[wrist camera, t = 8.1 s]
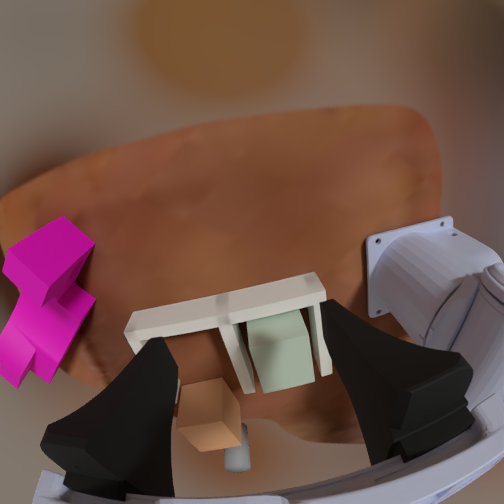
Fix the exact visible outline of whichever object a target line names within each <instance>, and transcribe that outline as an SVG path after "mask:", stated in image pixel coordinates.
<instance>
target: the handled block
mask: <svg viewBox="0 0 504 504" xmlns="http://www.w3.org/2000/svg"><path fill="white" fill-rule="evenodd" d="M176 429H177V430H178V431H179V432H180V433H181V434H182V435H183V436H184V437H185V438H186V439H187V440H188V441H190V442H191V443H192V444H193V445H194V446H195V447H196V448H197V449H198V450H199V451H200V452H203V451H210V450H217V449H224V460H225V470H226V471H228V472H233V473H242V472H246V471H248V470H249V469H250V457H249V445H248V432H247V426H246V424H244V423H241V415H240V404H239V402H238V401H237V399H236V398H235V396H234V395H233V393H232V392H231V390H230V389H229V387H228V385H227V384H226V382H225V381H224V379H223V378H222V377H220V378H215V379H211V380H207V381H202V382H198V383H193V384H189V385H184V386H182V388H181V395H180V402H179V409H178V416H177V425H176Z"/></svg>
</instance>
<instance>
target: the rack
mask: <svg viewBox="0 0 504 504" xmlns="http://www.w3.org/2000/svg"><path fill="white" fill-rule="evenodd" d="M323 301H326V290H325V288H324V287H323V285H322V283H321V282H320V280H319V278H318V277H317V275H316V273H315V272H311V273H307V274H303V275H299V276H295V277H291V278H287V279H283V280H278V281H274V282H270V283H266V284H261V285H257V286H253V287H249V288H244V289H240V290H235V291H231V292H226V293H222V294H217V295H213V296H208V297H204V298H199V299H194V300H189V301H185V302H180V303H175V304H170V305H165V306H160V307H155V308H150V309H145V310H140V311H135V312H133V313H132V315H131V318H130V320H129V322H128V324H127V326H126V328H125V330H124V332H123V333H124V335H125V337H126V338H127V340H128V342H129V344H130V346H131V347H132V349H133V351H134V353H135V354H137V353H138V352H139V351H140V349H141V348H142V347H143V346H144V345H145V344H146V342H147V341H148V340H149V339H150V338H154V337H160V336H162V337H167V336H173V335H179V334H185V333H190V332H196V331H201V330H206V329H211V328H216V327H219V330H220V332H221V335H222V338H223V341H224V343H225V346H226V349H227V351H228V354H229V356H230V359H231V362H232V364H233V367H234V369H235V372H236V374H237V377H238V379H239V382H240V384H241V387H242V389H243V392H244V394H249V393H254V392H255V383H254V374H253V368H252V365H251V362H250V359H249V356H248V353H247V350H246V347H245V344H244V341H243V337H242V334H241V331H240V328H239V325H238V323H241V322H245V321H250V320H254V319H259V318H263V317H267V316H272V315H276V314H280V313H284V312H288V311H293V310H297V309H301V308H304V307H307V308H308V315H309V322H310V329H311V337H312V344H313V352H314V357H315V359H316V362H317V365H318V368H319V371H320V373H321V376H326V375H329V374H332V359H331V357H330V355H329V352H328V350H327V347H326V344H325V341H324V338H323V331H322V321H321V312H320V304H319V302H323ZM179 386H180V380H179V378H178V388H177V394H176V401H175V404H176V403H177V399H178V392H179Z"/></svg>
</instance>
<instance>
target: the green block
mask: <svg viewBox="0 0 504 504" xmlns="http://www.w3.org/2000/svg"><path fill="white" fill-rule="evenodd" d="M247 332H248V342H249V349H250V353H251V356H252V359H253V362H254V365H255V368H256V371H257V374H258V377H259V380H260V383H261V386H262V389H263V392H264V393H268V392H273V391H278V390H282V389H287V388H291V387H295V386H299V385H303V384H307V383H311V382H315V378H314V370H313V362H312V355H311V347H310V340H309V334H308V331H307V329H306V326H305V323H304V321H303V318H302V315H301V313H300V310H299V309H297V310H293V311H288V312H284V313H280V314H276V315H272V316H267V317H263V318H259V319H254V320H250V321H247Z"/></svg>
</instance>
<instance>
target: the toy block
mask: <svg viewBox="0 0 504 504" xmlns="http://www.w3.org/2000/svg"><path fill="white" fill-rule="evenodd" d="M94 245H95V243H94V242H93V241H92V240H91V239H90V238H88V237H87V236H86V235H85V234H84V233H82V232H81V231H80V230H79V229H78V228H76V227H75V226H74V225H73V224H72V223H71V222H69V221H68V220H67V219H66V218H65V217H64V216H61V217H60V218H58V219H56V220H54V221H53V222H51V223H49V224H47V225H46V226H44V227H42V228H41V229H39V230H37V231H36V232H34V233H32V234H31V235H29V236H28V237H26V238H24V239H23V240H21V241H20V242H18V243H17V244H15V245H14V246H12V247H11V248H9V249H8V252H7V255H6V259H5V263H4V267H3V271H2V272H3V273H4V274H5V275H6V276H7V277H8V278H9V279H10V280H11V281H12V282H13V283H14V284H15V285H16V286H17V287H18V288H19V289H20V290H22V291H21V294H20V297H19V300H18V302H17V305H16V307H15V309H14V311H13V313H12V315H11V317H10V319H9V321H8V323H7V325H6V326H5V328H4V330H3V332H2V334H1V335H0V375H1V376H3V377H4V378H5V379H6V380H7V381H8V382H10V383H11V384H12V385H13V386H14V387H16V388H17V389H18V388H19V386H20V384H21V383H22V381H23V380H24V378H25V376H26V375H27V373H28V372H29V370H31V371H33V372H34V373H35V374H36V375H38V376H39V377H40V378H42V379H43V380H44V381H46V382H47V383H49V384H50V382H51V380H52V378H53V377H54V375H55V373H56V371H57V370H58V368H59V366H60V364H61V363H62V361H63V359H64V358H65V356H66V354H67V352H68V350H69V348H70V346H71V344H72V342H73V340H74V338H75V336H76V334H77V332H78V331H79V329H80V327H81V325H82V323H83V321H84V320H85V318H86V316H87V314H88V313H89V311H90V309H91V307H92V306H93V304H94V302H95V300H96V299H95V298H94V297H92V296H91V295H90V294H89V293H87V292H86V291H85V290H83V289H82V288H81V287H80V286H78V285H77V284H76V283H75V280H76V278H77V276H78V274H79V273H80V271H81V269H82V267H83V265H84V263H85V261H86V259H87V258H88V256H89V254H90V252H91V250H92V249H93V247H94Z"/></svg>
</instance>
